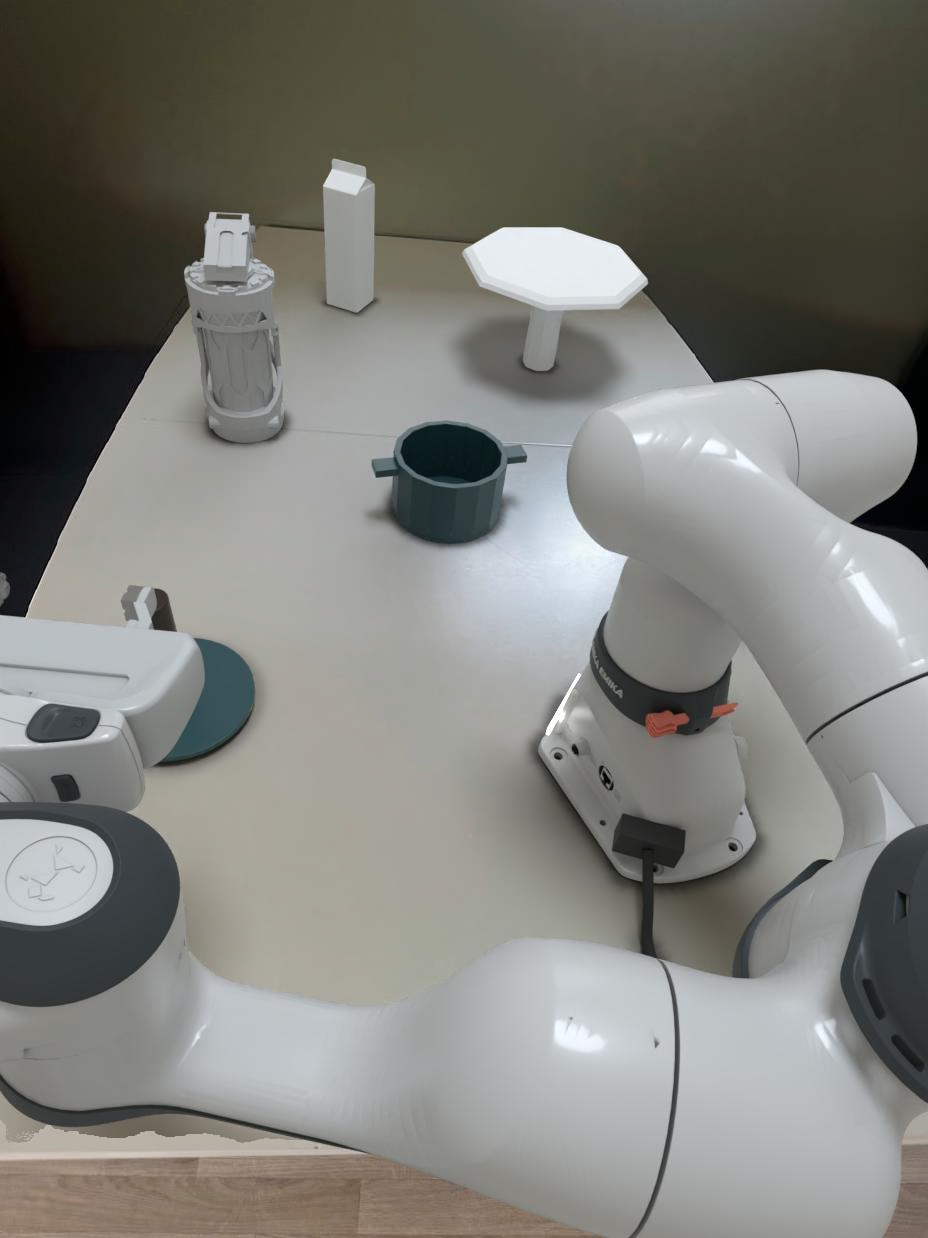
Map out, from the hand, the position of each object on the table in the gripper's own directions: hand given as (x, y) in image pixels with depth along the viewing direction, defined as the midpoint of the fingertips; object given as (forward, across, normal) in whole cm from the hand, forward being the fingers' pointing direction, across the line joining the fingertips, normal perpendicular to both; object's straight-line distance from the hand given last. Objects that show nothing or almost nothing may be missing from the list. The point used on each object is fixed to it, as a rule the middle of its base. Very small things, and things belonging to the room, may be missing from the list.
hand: (70, 586), depth 51 cm
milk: (+100, +3, -20) cm, 102 cm away
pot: (+46, +23, -23) cm, 57 cm away
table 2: (+86, +36, -21) cm, 95 cm away
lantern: (+62, -6, -22) cm, 66 cm away
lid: (+12, -1, -25) cm, 28 cm away
